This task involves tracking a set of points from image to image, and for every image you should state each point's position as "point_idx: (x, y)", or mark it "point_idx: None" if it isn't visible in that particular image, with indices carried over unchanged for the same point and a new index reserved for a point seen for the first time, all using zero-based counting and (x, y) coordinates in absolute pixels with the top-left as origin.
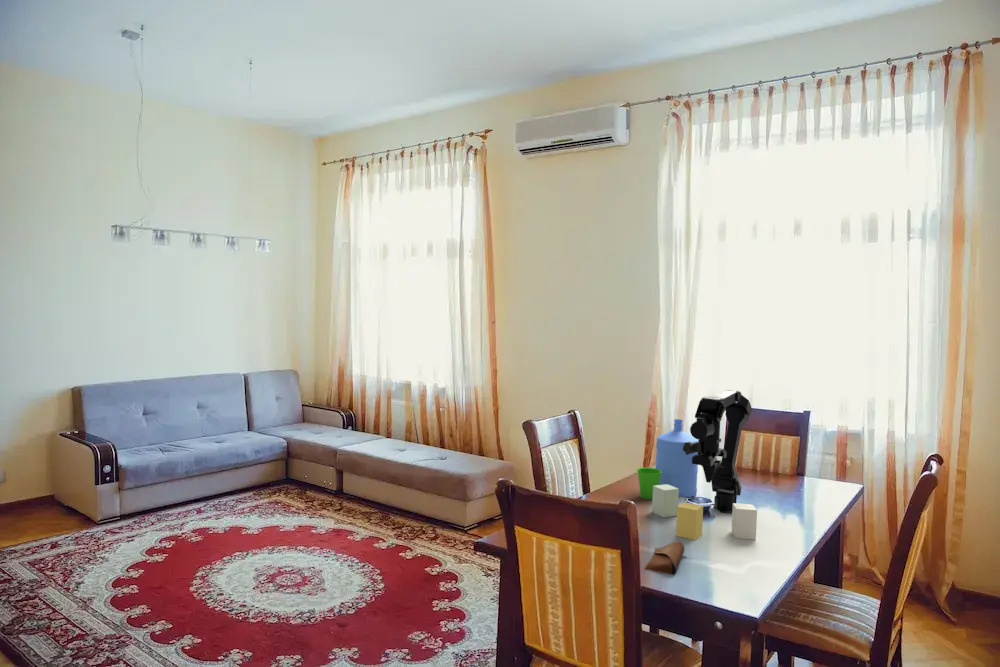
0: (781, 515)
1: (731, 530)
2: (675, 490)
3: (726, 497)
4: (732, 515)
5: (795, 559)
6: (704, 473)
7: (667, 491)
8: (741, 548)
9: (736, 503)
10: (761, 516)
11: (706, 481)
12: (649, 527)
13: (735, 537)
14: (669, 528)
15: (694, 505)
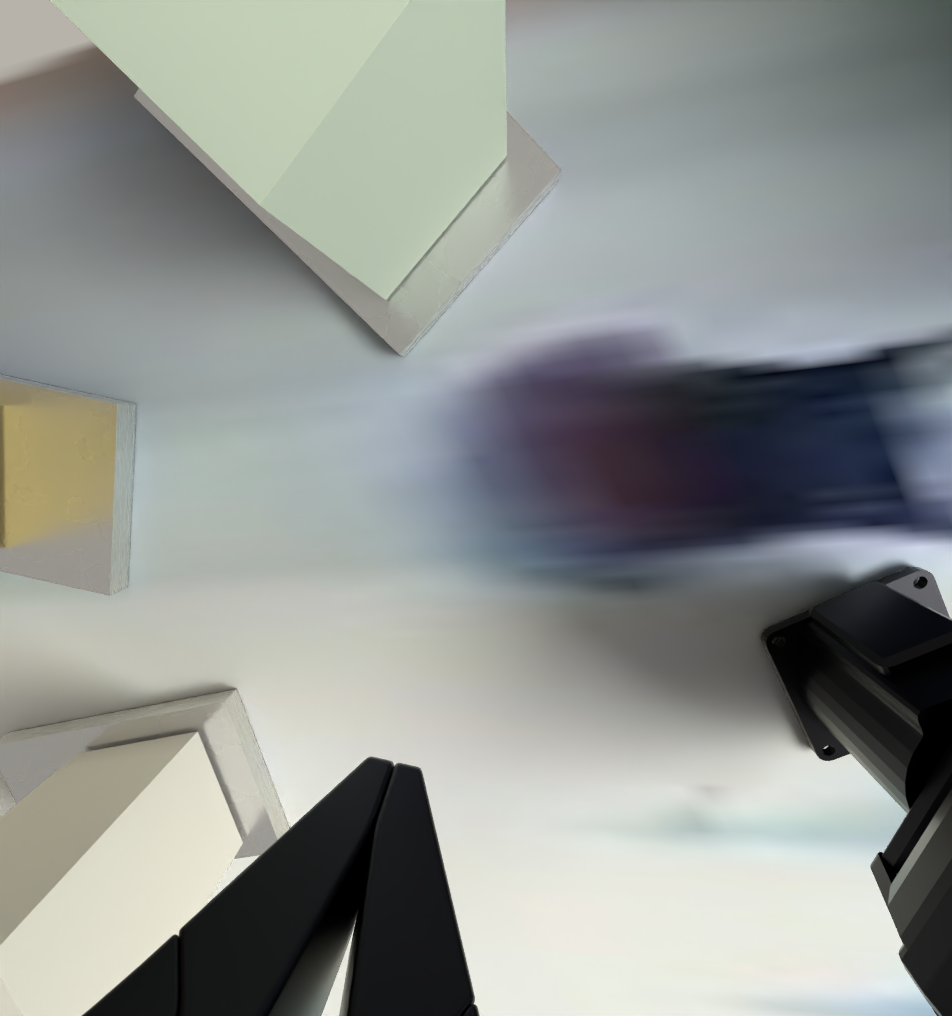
0: (861, 1001)
1: (191, 737)
2: (214, 156)
3: (880, 755)
4: (88, 836)
5: None
6: (206, 906)
7: (64, 14)
8: None
9: (4, 988)
10: (779, 891)
11: (366, 761)
12: (22, 103)
13: (75, 758)
14: (104, 282)
15: None
